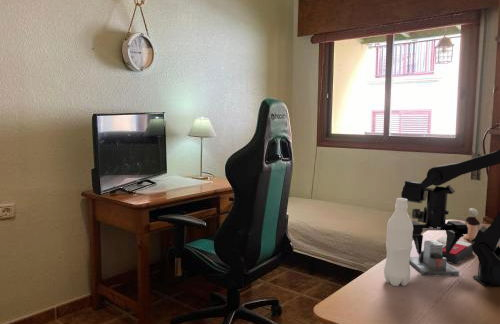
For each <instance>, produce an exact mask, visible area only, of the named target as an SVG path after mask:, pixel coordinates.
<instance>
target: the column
mask: <svg viewBox="0 0 500 324" xmlns="http://www.w3.org/2000/svg"><path fill="white" fill-rule="evenodd" d="M423 250H424V253H423V262H424V263H425V264H427V265H428V266H429V257H433V255H442V250H443V245H442V244H441V243H439V242H438V241H436V240H424V241H423Z"/></svg>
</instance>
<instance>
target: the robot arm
mask: <svg viewBox="0 0 500 324" xmlns="http://www.w3.org/2000/svg"><path fill="white" fill-rule="evenodd" d="M499 164H500V149H497V150H495V151H493V152H490V153H486V154H483V155H479V156H475V157H473V158H471V159H470V158H469V159H466V160H463V161H461V162H455V163H454V162H453V163H446V164H440V165H437V166H433V167H431V168H429V169H428V170H427V172H426V177H425V178H423V180H422V181H421V182H419V181H412V180H410V179H409V180H405V181H404V185H403V187H402V191H401V197H400V198H406V199H407V203H408V202H409V203H416V204H423V202H426V206H424V208H423V211H421V209H420V208H413V209H412V211H411V217H412V219H414V220H411V221H412V224H413V235H412V241H413V242H414V245H415V249H416V252H417V254H418V255H419V254H420V253H421V250H423V249H422V247H423V242H424V241H423V240H424V235H423V234H422V233H423V231H445V234H446V238H447V240H446V253H447V254H449V253H450V251H451V250H452V248H453V247H454V245H455V244H456V242H457V241H460V239H461V238H464V237H465V235H467V234H468V224H467V225H466V224H465V222H461V220H460V221H459V220H448V221H446V219H447V215H449V212H450V211H449V210H447V209H448V208H447V207H448V205H447V204H448V195H453V194H455V193H456V190H455V189H454V188H453V187H452V186H451V184H448V185H446V186H443V185H444V184H446V183H448V182H449V181H451V180H453V179H456V178H458V177H459V176H463V175H466V174H469V173H472V172H475V171H480V170H482V169H486V168H489V167H493V166H496V165H499ZM441 185H442V186H441ZM431 186H434V188H433V187H431ZM415 219H416V220H417V221H416V220H415ZM480 227H481V228H480V229H478V231H477V233H476V234H475V237H474V238H473V239H472V241H471V242H472V243H471V244H472V250H473V254H474V255H475V256H477V260H478V271H477V275H473V276H472V278H473V279H475V280H476V281H477V282H478V283H480V284H482V285H483V286H485V287H500V246H499V245H500V210H498V213H497V214H496V216H495V218H494V219H493V221H492V222H491V223H490V225H489V226H488V227H486V226H485V225H482V226H480Z"/></svg>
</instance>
